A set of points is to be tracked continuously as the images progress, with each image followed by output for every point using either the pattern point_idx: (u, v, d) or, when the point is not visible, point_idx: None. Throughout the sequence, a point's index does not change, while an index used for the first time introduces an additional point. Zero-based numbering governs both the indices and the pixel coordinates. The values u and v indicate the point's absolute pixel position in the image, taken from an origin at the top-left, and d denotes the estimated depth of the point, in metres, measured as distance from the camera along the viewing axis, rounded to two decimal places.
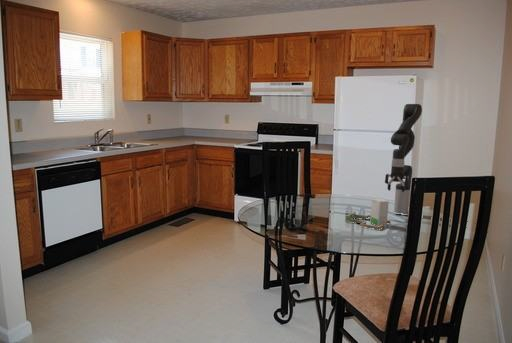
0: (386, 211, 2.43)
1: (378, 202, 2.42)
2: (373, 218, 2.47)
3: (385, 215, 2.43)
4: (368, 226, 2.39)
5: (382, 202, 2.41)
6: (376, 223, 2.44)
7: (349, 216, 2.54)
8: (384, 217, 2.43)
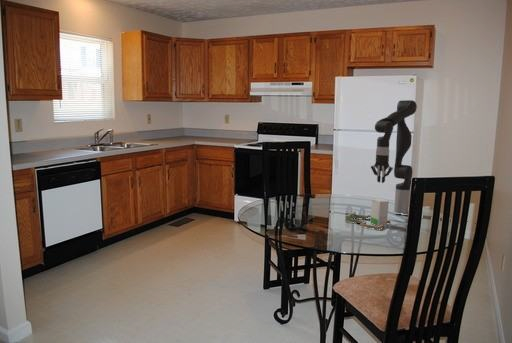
0: (386, 211, 2.43)
1: (378, 202, 2.42)
2: (373, 218, 2.47)
3: (385, 215, 2.43)
4: (368, 226, 2.39)
5: (382, 202, 2.41)
6: (376, 223, 2.44)
7: (349, 216, 2.54)
8: (384, 217, 2.43)
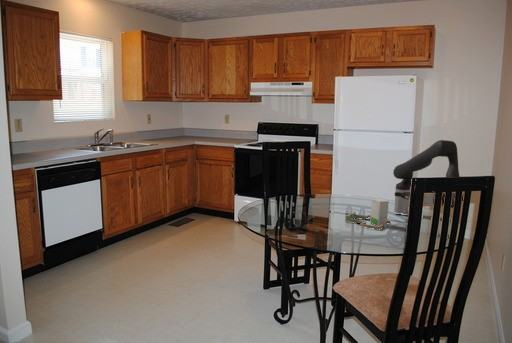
0: (386, 211, 2.43)
1: (378, 202, 2.42)
2: (373, 218, 2.47)
3: (385, 215, 2.43)
4: (368, 226, 2.39)
5: (382, 202, 2.41)
6: (376, 223, 2.44)
7: (349, 216, 2.54)
8: (384, 217, 2.43)
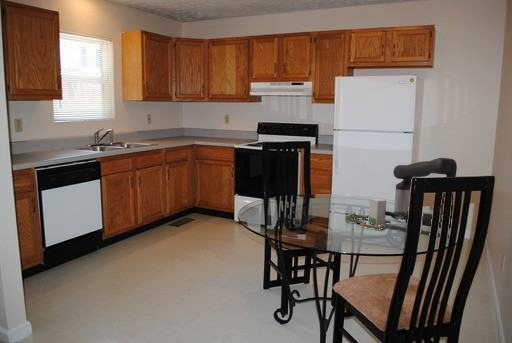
0: (384, 210, 2.44)
1: (376, 202, 2.43)
2: (371, 218, 2.47)
3: (383, 215, 2.44)
4: (368, 226, 2.39)
5: (380, 201, 2.42)
6: (374, 223, 2.45)
7: (349, 216, 2.54)
8: (383, 217, 2.44)
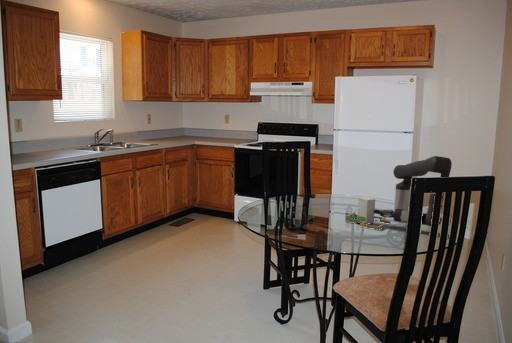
0: (373, 209, 2.48)
1: (365, 200, 2.46)
2: (360, 216, 2.51)
3: (372, 213, 2.48)
4: (368, 226, 2.39)
5: (369, 200, 2.45)
6: None
7: (349, 216, 2.54)
8: (372, 215, 2.48)
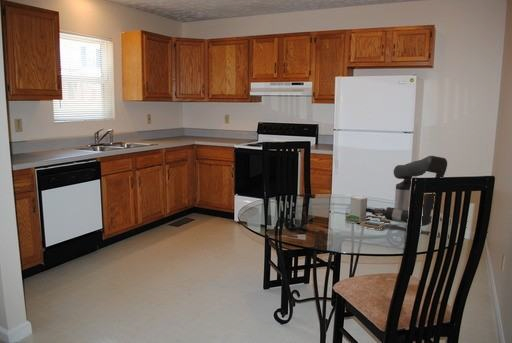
0: (365, 207, 2.51)
1: (358, 200, 2.48)
2: (353, 216, 2.52)
3: (365, 212, 2.51)
4: (368, 226, 2.39)
5: (362, 199, 2.48)
6: None
7: (349, 216, 2.54)
8: (364, 214, 2.51)
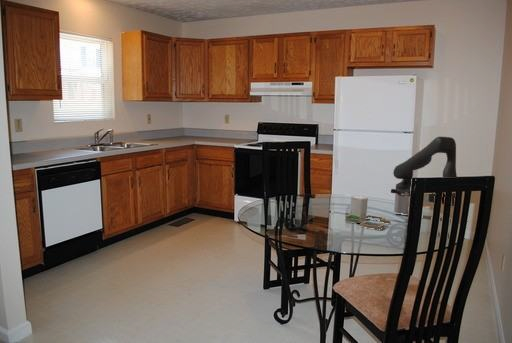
0: (366, 208, 2.51)
1: (359, 200, 2.48)
2: (353, 216, 2.52)
3: (365, 212, 2.51)
4: (368, 226, 2.39)
5: (363, 199, 2.48)
6: None
7: (349, 216, 2.54)
8: (364, 214, 2.51)
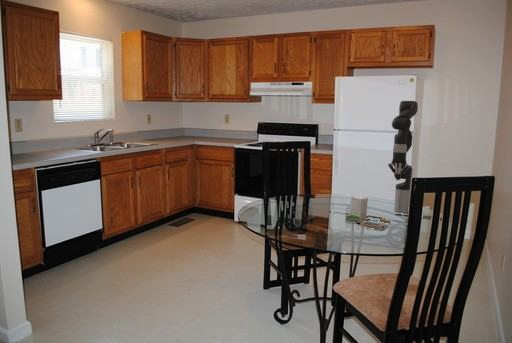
0: (366, 208, 2.51)
1: (359, 200, 2.48)
2: (353, 216, 2.52)
3: (365, 212, 2.51)
4: (368, 226, 2.39)
5: (363, 199, 2.48)
6: None
7: (349, 216, 2.54)
8: (364, 214, 2.51)
